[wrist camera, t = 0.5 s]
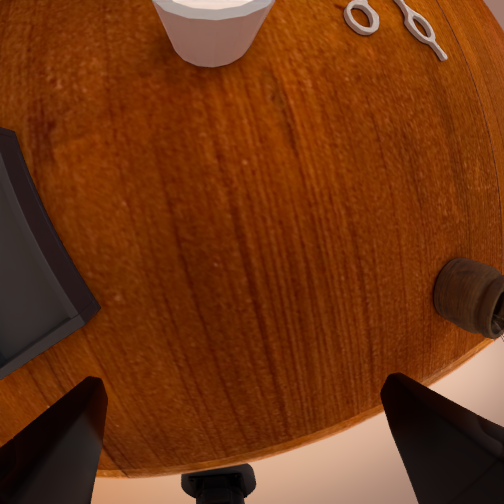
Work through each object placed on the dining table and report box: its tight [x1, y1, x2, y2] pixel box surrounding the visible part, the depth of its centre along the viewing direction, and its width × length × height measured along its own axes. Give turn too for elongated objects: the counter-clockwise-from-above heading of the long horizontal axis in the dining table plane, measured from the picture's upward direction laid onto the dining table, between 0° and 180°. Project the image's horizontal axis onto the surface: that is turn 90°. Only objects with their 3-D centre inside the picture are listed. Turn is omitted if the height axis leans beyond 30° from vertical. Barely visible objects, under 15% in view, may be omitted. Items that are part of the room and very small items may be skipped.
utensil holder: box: [434, 258, 504, 339], centre depth 16 cm, size 6×6×12 cm
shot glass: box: [152, 0, 275, 67], centre depth 12 cm, size 7×7×7 cm
